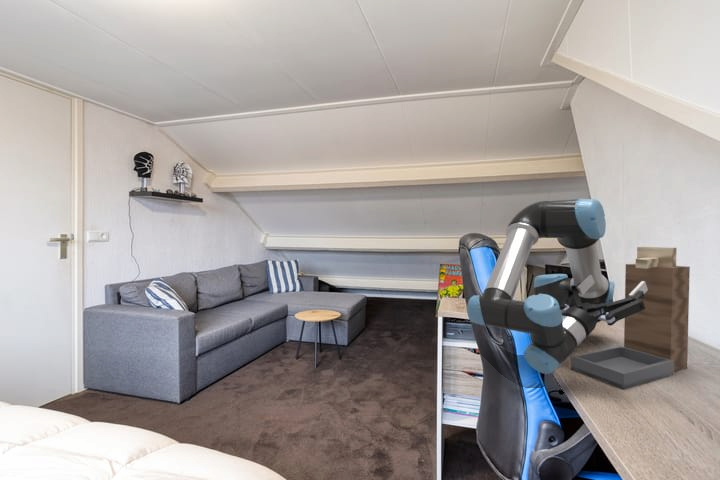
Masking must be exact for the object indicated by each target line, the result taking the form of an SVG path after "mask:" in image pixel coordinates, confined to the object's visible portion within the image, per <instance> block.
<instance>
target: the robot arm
mask: <svg viewBox="0 0 720 480" xmlns="http://www.w3.org/2000/svg"><path fill="white" fill-rule="evenodd" d="M605 216H606V214H605V210H604V207H603V205H602V203H601V202H600V201H599V200H597V199H595V198H583V197H581V198H576V199H562V200H561V199H560V200H541V201H537V202H534V203H531V204H529V205H527V206H526V207H524V208H522V209H521V210H520V211H518V212H517V214H516V215H515V216H513V217H512V219H511V220H510V222H509V223H508V226H507V227H506V230H505V236H506V239H505V241H504V244H503V245H502V248H501V250H500V254H499V256H498V257H497V260H496V262H495V265H494V266H493V268H492V269H493V270H492V272H491V275H490V277H489V279H488V282H487V283H486V286H485V288H484V290H483V293H482V295H480V294H478V295H472V296H471V297H470V298H469V299H468V302H467V307H466V313H467V314H466V315H467V317H468V319H469V320H470V322H471V323H473V324H477V325H481V326H484V327H492V328H498V329H502V330H503V329H505V330H508V331H514V332H520V333H524V334H529V336H530V337H529V338H530V341H531V343H530V344H528V345H527V347H526V348H525V349H524V352H523V355H524V356H523V357H524V358H525V360H526V362H527V363H528V364H529V366H530V367H531V368H533V369H534V370H535V371H537V372H538V373H540V374H545V375H550V374H551V373H553V372H554V371H555V370H556V369H557V368H558V367H561V365H562V364H563V363H564V362H565V360H566V359H567V358H568V357H570V356H571V354H572V353H573V352H574V351H575V349H576V348H578V347H579V345H580V344H582V342H583V341H584V340H585V339H586V338H587V337H588V336H589V335H590V334H591V333H592V332H593V331H594V330H595V328H596V326H597V324H598V323H599V322H602V321H603V322H605V323H607V325H608V326H613V325H615V324H616V323H617V322H619V321H621V320H624V319H625V318H626V317H628V316H630V315H633V314H635V313H637V312H640V311H642V310H644V309H646V308H645V305H644V302H643V300H642V299H643V298H644V297H645V295H644V294H645V293H646V292H647V290H648V289H647V286H646V283H645V281H641V282H640V283H639V284H638V286H637V287H636V288H635V289H634V290H633V291H632V292H631V293H630V294H629V297H628V298H625V297H624V298H622V299H617V300H615V301H614V293H615V282H614V281H610V280H608V278H606V277H605V276H604V274H602V271H601V270H602V269H601V263H600V258H599V252H598V247H597V242H598V241H599V240H600V239H601V238H603V237H605V234H606V224H607V223H606V219H605ZM539 239H557V241H558V244H559V245H561V246H562V247H563V248H564V249H565V252H566V256H567V260H568V264H569V267H570V272H571V275H572V278H571V277H570V278H569V277H568V274H566V273H552V274H551V273H549V274H541V275H537V276H535V277H534V280H533V286H532V287H533V294H532V295H530V296H528V297H526V298H525V300H524V301H522V300H514V299H513V298H514V296H515V293H516V291H517V288H518V286H519V283H520V280H521V277H522V274H523V272H524V270H525V266H526V264H527V261H528V258H529V256H530V253H531V250H532V247H533V246H534V245H536V244H537V243H538V241H539Z"/></svg>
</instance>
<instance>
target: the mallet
mask: <svg viewBox="0 0 720 480" xmlns="http://www.w3.org/2000/svg"><path fill="white" fill-rule="evenodd" d="M635 264H636V268H646V269H647V268H653V267H675V266H677V247H664V246H663V247H661V246H660V247H659V246H637V248H636V258H635Z"/></svg>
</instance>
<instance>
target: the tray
mask: <svg viewBox="0 0 720 480" xmlns="http://www.w3.org/2000/svg"><path fill="white" fill-rule="evenodd" d="M570 357H571V358H570V370H571V371H574V372H577V373H578V374H582V375H584V376H587V377H590V378H592V379H595V380H598V381H600V382H602V383H606V384H608V385H611V386H612V387H616V388H619V389H621V390H623V391H624V390H628V389H630V388H634V387H637V386H641V385H643V384H648V383H650V382H654V381H657V380H662V379H664V378H667V377H670V376H673V375H675V374H674V373H675V372H674V361H673V360H670V359H666V358H662V357H659V356H655V355H652V354H648V353H644V352H641V351H637V350H634V349H630V348H626V347H624V345H616V346H611V347H607V348H603V349H598V350H593V351H588V352H584V353H579V354H578V353H577V354H574V355H570Z"/></svg>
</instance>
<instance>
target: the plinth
mask: <svg viewBox="0 0 720 480" xmlns="http://www.w3.org/2000/svg"><path fill="white" fill-rule="evenodd" d="M690 270H691V269H690V266H687V265H685V266H684V265H676V266H675V267H653V268H647V269H646V268H636V263H626V264H625V276H624V278H625V283H624V284H625V285H624V299H625V298H628V297H629V294H630V293H631V292H632V291H633V290H634V289H635V288H636V287H637V286H638V284H639V283H640V282H641V281H645V283H646V286H647V289H648V290H647V292H646V293H645V294H644V295H645V297H644V298H643V299H642V300H643V302H644V305H645V308H646V309H644V310H642V311H640V312H637V313H635V314H633V315H630V316H628V317H626V318H624V327H623V328H624V331H623V332H624V338H623V341H624V342H623V347H626V348H630V349H634V350H637V351H641V352H644V353H648V354H652V355H655V356H659V357H662V358H666V359H670V360H673V361H674V373H675V372H679V371H683V370H686V369H688V355H689V354H688V352H689V349H688V348H689V346H688V345H689V313H690V312H689V311H690V310H689V309H690V308H689V306H690V304H689V303H690V272H691V271H690Z"/></svg>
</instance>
